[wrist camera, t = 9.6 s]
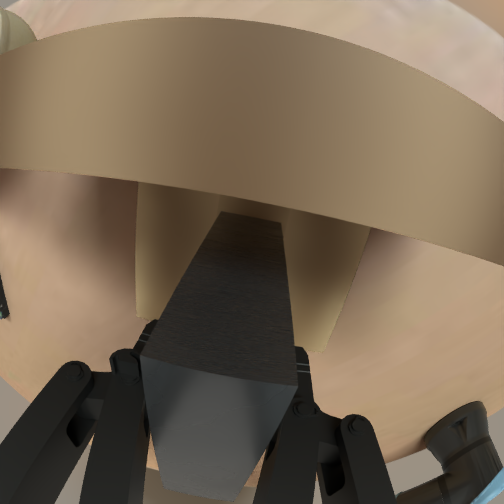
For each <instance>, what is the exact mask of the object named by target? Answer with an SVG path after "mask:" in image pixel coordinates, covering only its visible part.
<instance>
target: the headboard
mask: <svg viewBox="0 0 504 504" xmlns="http://www.w3.org/2000/svg"><path fill="white" fill-rule="evenodd" d="M0 168H7V169H23V170H37V171H49V172H61V173H71V174H81V175H90V176H99V177H107V178H116V179H123V180H131V181H138V196H137V212H136V237H135V289H136V314H137V317H140V318H143V319H147V320H151V321H153V320H154V319H157V320H159V318H160V316H161V314H162V312H163V311H164V309H165V307H166V305H167V303H168V302H169V300H170V298H171V296H172V294H173V292H174V291H175V289H176V287H177V285H178V284H179V282H180V280H181V278H182V276H183V275H184V273H185V271H186V269H187V268H188V266H189V264H190V263H191V261H192V259H193V257H194V256H195V254H196V252H197V250H198V249H199V247H200V245H201V244H202V242H203V240H204V239H205V237H206V235H207V234H208V232H209V230H210V229H211V227H212V225H213V224H214V222H215V220H216V219H217V217H218V215H219V214H220V212H221V211H224V212H229V213H235V214H240V215H245V216H250V217H255V218H260V219H265V220H270V221H275V222H280V223H281V226H282V233H283V241H284V250H285V258H286V266H287V275H288V284H289V293H290V302H291V312H292V322H293V332H294V342H295V346H300V347H303V348H304V350H305V351H312V352H320V353H323V352H324V349H325V347H326V345H327V343H328V341H329V338H330V336H331V334H332V331H333V329H334V327H335V324H336V322H337V320H338V317H339V315H340V312H341V310H342V308H343V305H344V303H345V300H346V298H347V295H348V292H349V290H350V287H351V285H352V282H353V279H354V277H355V274H356V271H357V268H358V266H359V263H360V260H361V257H362V254H363V251H364V248H365V245H366V242H367V239H368V236H369V233H370V230H371V227H373V228H377V229H381V230H385V231H389V232H392V233H396V234H400V235H404V236H407V237H411V238H414V239H418V240H422V241H425V242H429V243H432V244H435V245H439V246H442V247H446V248H449V249H452V250H455V251H459V252H462V253H465V254H468V255H471V256H475V257H478V258H481V259H484V260H487V261H490V262H493V263H496V264H499V265H502V266H504V122H503V121H502V120H500V119H499V118H498V117H496V116H495V115H494V114H492V113H491V112H489V111H488V110H486V109H485V108H484V107H482V106H481V105H479V104H478V103H476V102H475V101H473V100H471V99H470V98H468V97H467V96H465V95H464V94H462V93H460V92H459V91H457V90H455V89H453V88H452V87H450V86H448V85H446V84H445V83H443V82H441V81H439V80H437V79H435V78H434V77H432V76H430V75H428V74H426V73H424V72H422V71H420V70H418V69H415V68H413V67H411V66H409V65H407V64H405V63H402V62H400V61H398V60H395V59H393V58H391V57H388V56H386V55H383V54H381V53H378V52H375V51H373V50H370V49H367V48H364V47H361V46H358V45H355V44H352V43H349V42H346V41H343V40H339V39H336V38H333V37H329V36H325V35H321V34H318V33H314V32H309V31H305V30H300V29H296V28H291V27H286V26H280V25H274V24H268V23H261V22H254V21H245V20H235V19H223V18H201V17H174V18H153V19H140V20H131V21H122V22H115V23H109V24H103V25H97V26H92V27H87V28H82V29H78V30H73V31H69V32H65V33H61V34H58V35H54V36H51V37H47V38H44V39H41V40H38V41H35V42H32V43H29V44H26V45H23V46H21V47H18V48H15V49H13V50H10V51H8V52H5V53H3V54H1V55H0Z"/></svg>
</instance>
